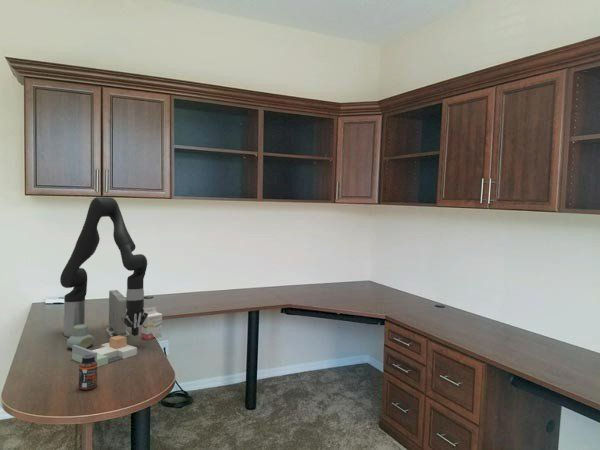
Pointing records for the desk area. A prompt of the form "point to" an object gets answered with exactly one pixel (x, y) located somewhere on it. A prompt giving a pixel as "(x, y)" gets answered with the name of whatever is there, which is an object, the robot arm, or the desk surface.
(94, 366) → the supplement bottle
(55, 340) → the desk surface
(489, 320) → the desk surface
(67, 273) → the robot arm
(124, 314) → the network device
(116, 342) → the block
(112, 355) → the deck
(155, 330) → the ink cartridge box
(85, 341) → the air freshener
